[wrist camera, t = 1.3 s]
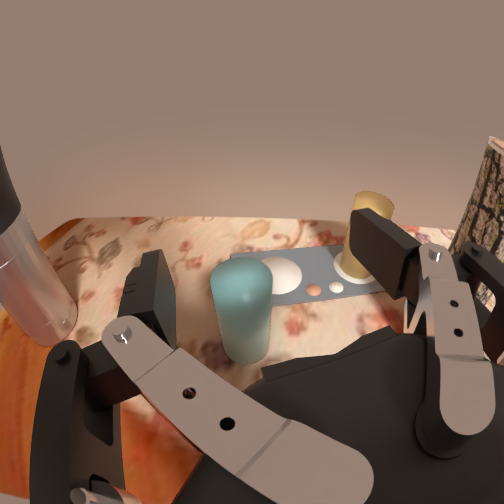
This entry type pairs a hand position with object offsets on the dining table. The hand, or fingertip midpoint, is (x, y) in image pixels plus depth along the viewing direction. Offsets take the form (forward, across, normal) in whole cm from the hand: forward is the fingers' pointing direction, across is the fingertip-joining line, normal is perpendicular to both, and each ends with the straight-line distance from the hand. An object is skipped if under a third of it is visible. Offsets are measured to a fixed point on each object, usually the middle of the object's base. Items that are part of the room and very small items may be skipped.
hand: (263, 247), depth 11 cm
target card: (+19, -11, +18) cm, 29 cm away
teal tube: (+11, +1, +19) cm, 22 cm away
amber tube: (+19, -17, +18) cm, 31 cm away
